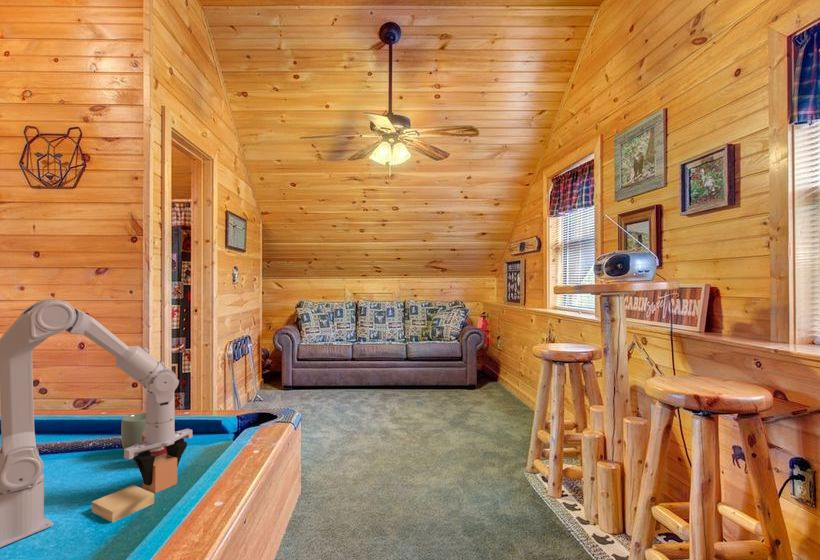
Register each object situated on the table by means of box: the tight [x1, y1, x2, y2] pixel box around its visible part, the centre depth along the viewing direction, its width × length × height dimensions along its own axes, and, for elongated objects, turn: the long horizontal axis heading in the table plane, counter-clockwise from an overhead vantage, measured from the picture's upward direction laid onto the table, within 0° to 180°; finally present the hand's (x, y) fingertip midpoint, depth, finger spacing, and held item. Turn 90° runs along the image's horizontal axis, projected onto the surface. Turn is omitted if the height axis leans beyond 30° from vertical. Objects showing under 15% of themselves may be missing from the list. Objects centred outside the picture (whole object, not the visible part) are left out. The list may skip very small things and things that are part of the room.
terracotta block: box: [142, 454, 178, 494], centre depth 95 cm, size 5×5×6 cm
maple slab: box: [91, 484, 155, 523], centre depth 85 cm, size 8×8×2 cm
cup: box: [120, 411, 146, 451], centre depth 113 cm, size 8×8×10 cm
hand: (160, 478), depth 95 cm, fingers closed on terracotta block, 5 cm apart
